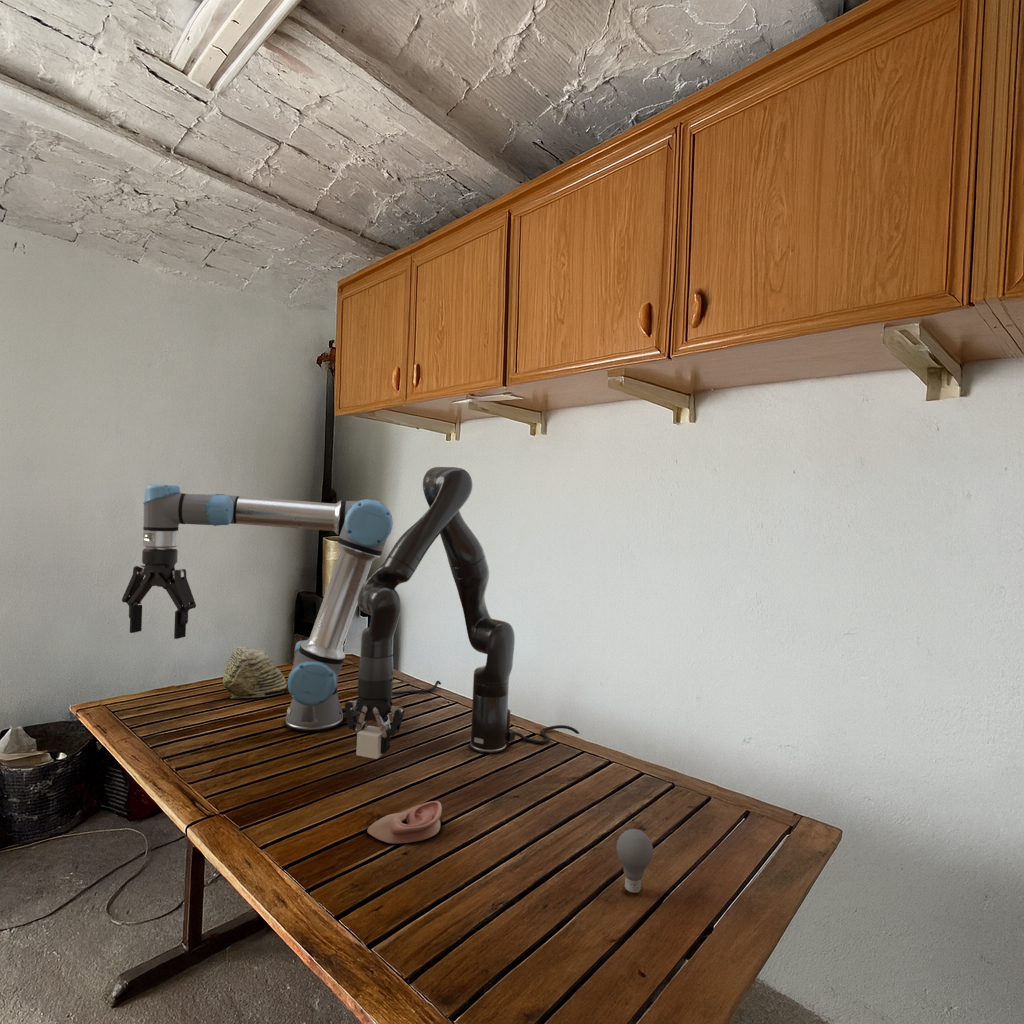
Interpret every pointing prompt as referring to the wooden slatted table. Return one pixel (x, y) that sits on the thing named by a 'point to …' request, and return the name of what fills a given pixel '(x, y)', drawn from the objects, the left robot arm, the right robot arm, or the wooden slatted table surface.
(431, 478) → the right robot arm
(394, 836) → the anatomical model
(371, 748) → the block
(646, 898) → the wooden slatted table surface
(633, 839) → the light bulb
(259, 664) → the fossil
